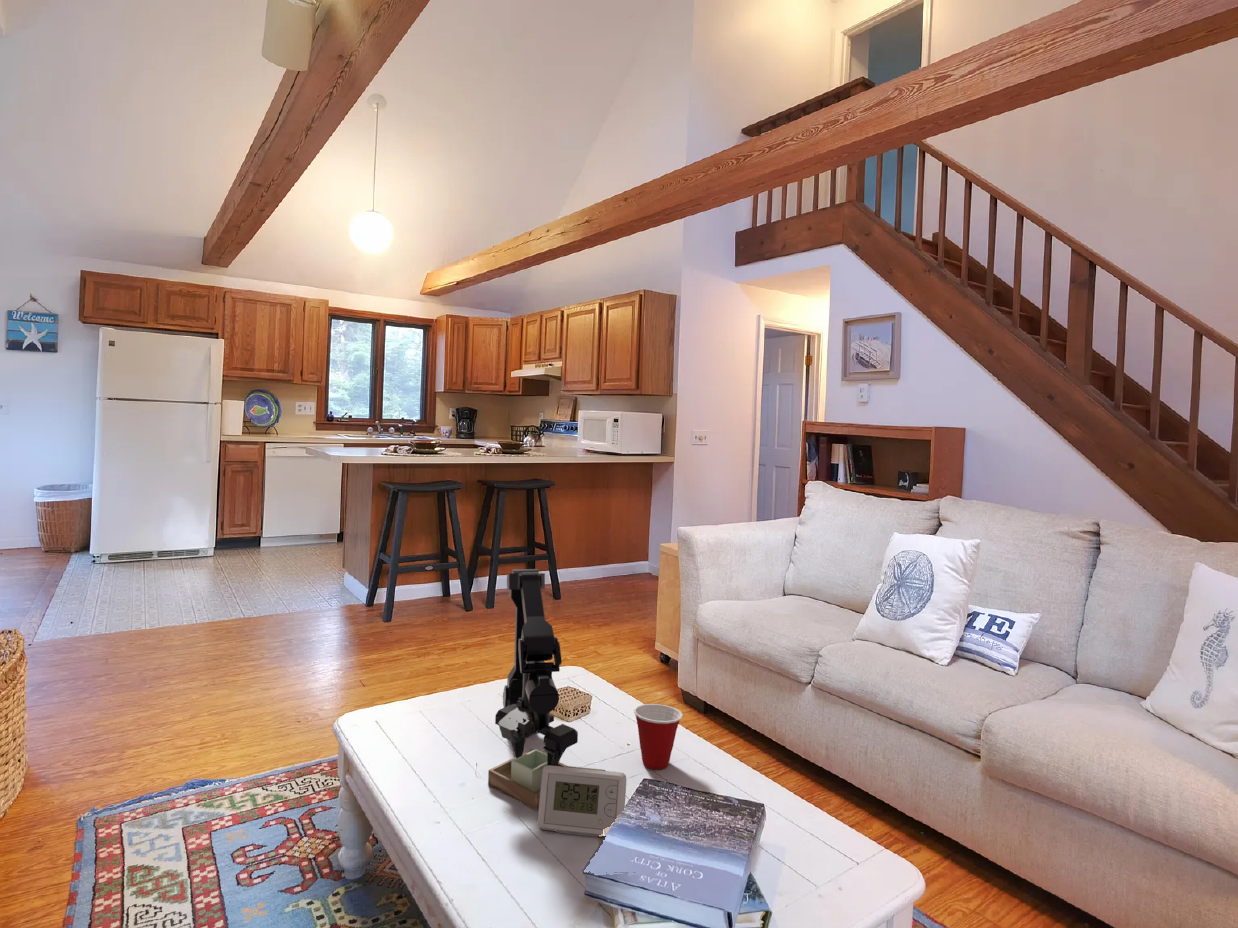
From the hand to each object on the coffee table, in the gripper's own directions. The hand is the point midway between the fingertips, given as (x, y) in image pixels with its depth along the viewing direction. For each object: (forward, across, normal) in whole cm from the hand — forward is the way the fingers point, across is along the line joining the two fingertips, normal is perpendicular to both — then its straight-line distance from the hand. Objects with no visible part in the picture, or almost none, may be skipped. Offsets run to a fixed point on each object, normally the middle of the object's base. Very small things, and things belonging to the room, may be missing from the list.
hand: (534, 766), depth 143 cm
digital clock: (+4, +17, -4) cm, 18 cm away
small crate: (+4, 0, 0) cm, 4 cm away
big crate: (+4, 0, 0) cm, 4 cm away
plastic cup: (+4, +13, +25) cm, 29 cm away
